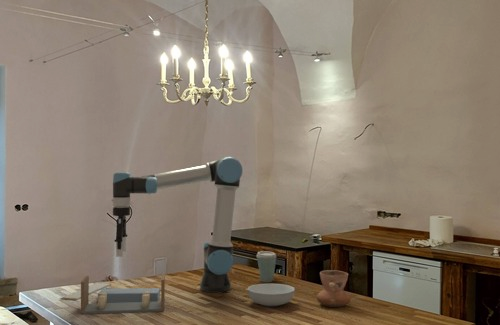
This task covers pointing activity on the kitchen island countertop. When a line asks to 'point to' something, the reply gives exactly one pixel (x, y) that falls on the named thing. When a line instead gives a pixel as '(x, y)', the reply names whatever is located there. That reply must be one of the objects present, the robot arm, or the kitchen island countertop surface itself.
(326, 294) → the ceramic jug
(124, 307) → the peg shelf
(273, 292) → the serving bowl
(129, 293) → the shelf board
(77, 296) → the baseboard
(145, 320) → the kitchen island countertop surface
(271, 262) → the disposable coffee cup
